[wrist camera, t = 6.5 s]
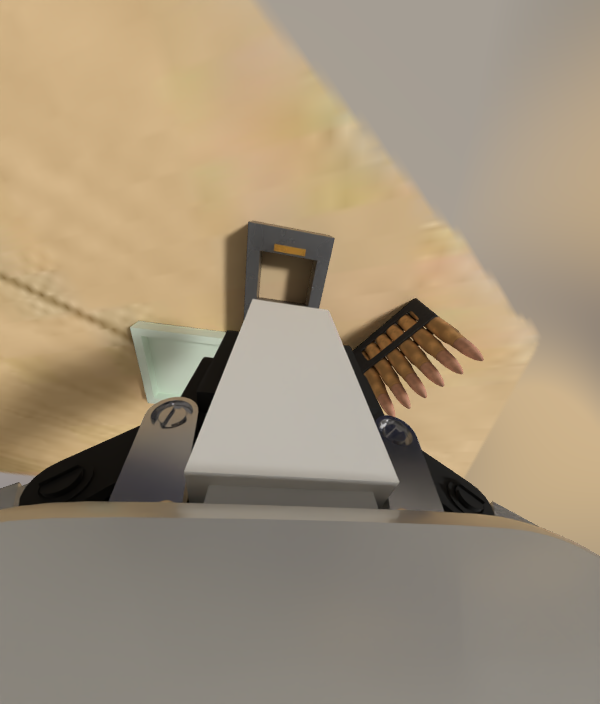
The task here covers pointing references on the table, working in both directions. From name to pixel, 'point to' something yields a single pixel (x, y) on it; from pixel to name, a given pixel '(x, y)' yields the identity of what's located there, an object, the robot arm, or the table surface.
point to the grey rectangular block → (289, 421)
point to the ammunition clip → (410, 353)
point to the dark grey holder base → (286, 244)
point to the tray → (171, 356)
